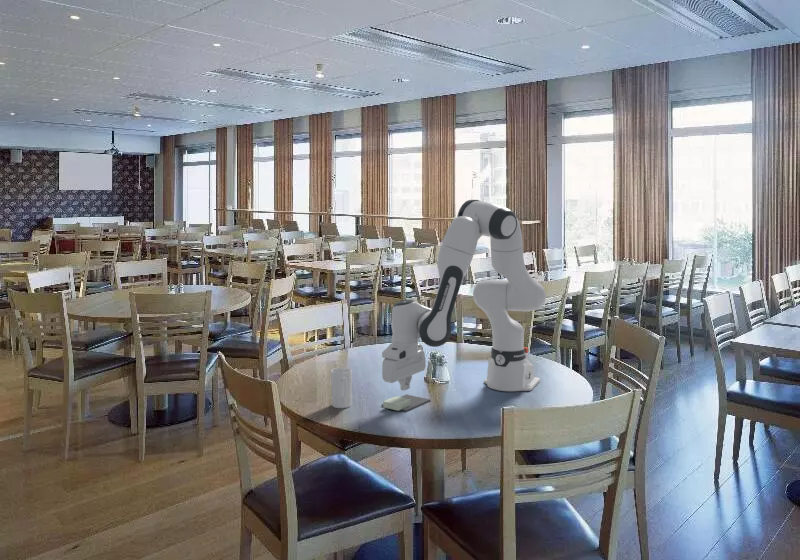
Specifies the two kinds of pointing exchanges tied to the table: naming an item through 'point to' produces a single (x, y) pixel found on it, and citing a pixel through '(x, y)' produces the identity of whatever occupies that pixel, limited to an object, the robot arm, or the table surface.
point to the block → (396, 403)
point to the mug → (341, 387)
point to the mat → (414, 402)
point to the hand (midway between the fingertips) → (405, 389)
